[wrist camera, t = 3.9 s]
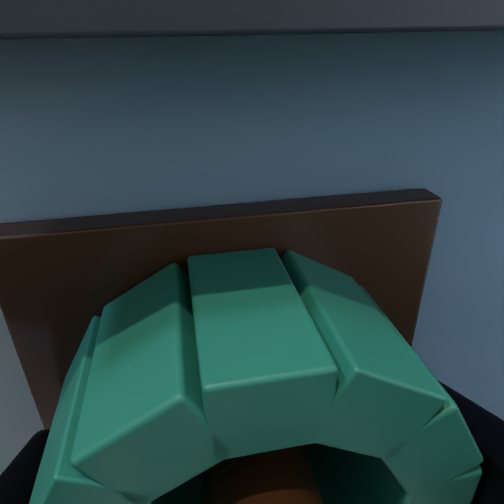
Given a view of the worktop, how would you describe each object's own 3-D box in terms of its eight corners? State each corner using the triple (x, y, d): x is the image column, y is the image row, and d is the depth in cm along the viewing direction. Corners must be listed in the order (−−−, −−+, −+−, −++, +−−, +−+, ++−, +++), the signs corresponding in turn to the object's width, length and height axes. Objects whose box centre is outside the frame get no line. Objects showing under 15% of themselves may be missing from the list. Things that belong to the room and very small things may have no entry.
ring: (366, 462, 10) (434, 604, 8) (103, 512, 9) (80, 696, 7) (406, 232, 7) (537, 337, 5) (28, 269, 6) (-63, 429, 4)
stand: (375, 452, 11) (507, 712, 7) (86, 507, 10) (28, 863, 6) (425, 187, 8) (755, 377, 3) (-11, 223, 7) (-350, 587, 2)
